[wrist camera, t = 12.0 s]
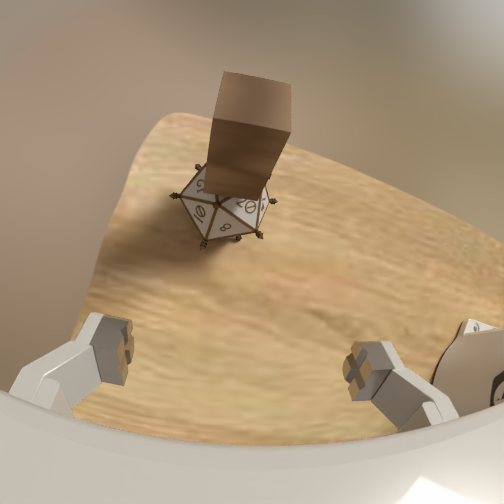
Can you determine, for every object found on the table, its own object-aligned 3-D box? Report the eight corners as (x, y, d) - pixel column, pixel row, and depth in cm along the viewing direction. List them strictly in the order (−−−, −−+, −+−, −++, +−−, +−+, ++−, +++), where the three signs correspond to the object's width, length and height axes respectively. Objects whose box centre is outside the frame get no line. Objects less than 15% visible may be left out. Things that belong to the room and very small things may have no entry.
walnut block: (261, 157, 23) (291, 84, 16) (257, 201, 22) (291, 132, 15) (211, 149, 23) (223, 71, 15) (203, 192, 21) (213, 117, 14)
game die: (233, 222, 34) (310, 187, 28) (204, 280, 28) (293, 250, 22) (179, 163, 30) (252, 110, 24) (135, 213, 24) (213, 154, 18)
